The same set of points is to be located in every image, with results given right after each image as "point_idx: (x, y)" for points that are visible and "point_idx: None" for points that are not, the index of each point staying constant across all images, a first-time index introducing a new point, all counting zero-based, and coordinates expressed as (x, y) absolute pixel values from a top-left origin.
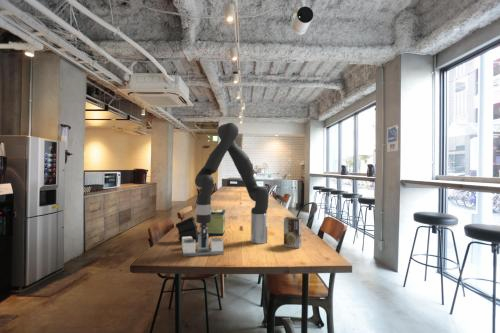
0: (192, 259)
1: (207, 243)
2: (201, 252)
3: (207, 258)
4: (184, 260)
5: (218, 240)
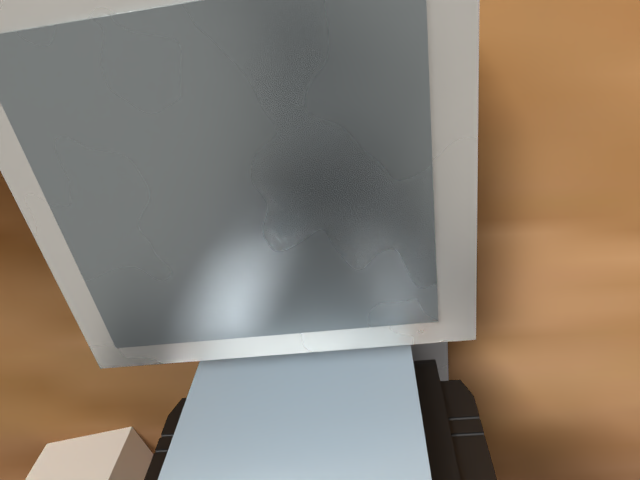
0: (578, 405)
1: (414, 386)
2: (444, 352)
3: (606, 232)
4: (584, 470)
5: (380, 133)
